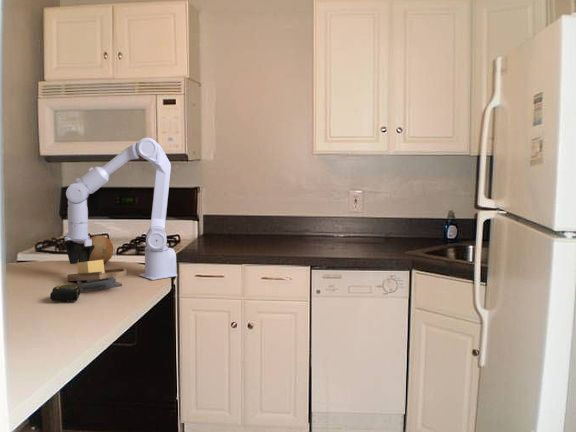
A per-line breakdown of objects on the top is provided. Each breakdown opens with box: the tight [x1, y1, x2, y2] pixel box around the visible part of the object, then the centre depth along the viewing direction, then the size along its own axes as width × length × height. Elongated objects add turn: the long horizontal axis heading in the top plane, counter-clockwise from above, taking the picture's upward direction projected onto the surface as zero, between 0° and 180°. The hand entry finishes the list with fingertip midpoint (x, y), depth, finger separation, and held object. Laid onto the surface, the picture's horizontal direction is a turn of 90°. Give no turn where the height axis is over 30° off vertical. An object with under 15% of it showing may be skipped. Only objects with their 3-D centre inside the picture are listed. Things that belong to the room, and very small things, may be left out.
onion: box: [89, 235, 114, 263], centre depth 186 cm, size 10×10×10 cm
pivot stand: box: [72, 277, 123, 293], centre depth 157 cm, size 12×8×2 cm, turn 135°
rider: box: [76, 260, 105, 274], centre depth 159 cm, size 5×8×4 cm, turn 45°
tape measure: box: [50, 284, 81, 303], centre depth 142 cm, size 7×7×4 cm
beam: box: [67, 267, 128, 282], centre depth 156 cm, size 8×22×3 cm, turn 45°
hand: (78, 265), depth 165 cm, fingers open, 7 cm apart
